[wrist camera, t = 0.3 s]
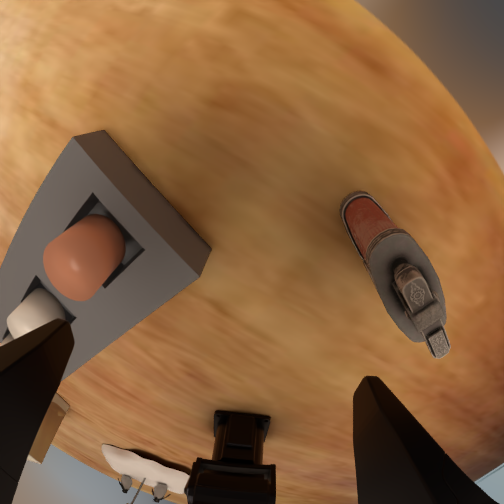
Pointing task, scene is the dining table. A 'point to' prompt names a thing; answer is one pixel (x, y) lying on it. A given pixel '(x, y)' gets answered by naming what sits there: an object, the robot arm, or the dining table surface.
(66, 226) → the button panel
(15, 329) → the button
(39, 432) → the skincare box
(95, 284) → the terracotta button
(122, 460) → the figurine
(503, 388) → the dining table surface
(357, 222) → the lighter
